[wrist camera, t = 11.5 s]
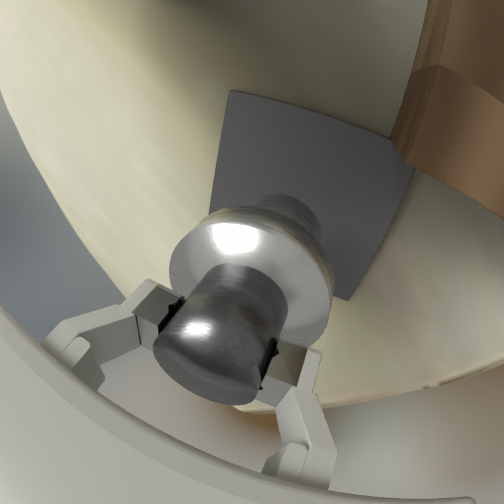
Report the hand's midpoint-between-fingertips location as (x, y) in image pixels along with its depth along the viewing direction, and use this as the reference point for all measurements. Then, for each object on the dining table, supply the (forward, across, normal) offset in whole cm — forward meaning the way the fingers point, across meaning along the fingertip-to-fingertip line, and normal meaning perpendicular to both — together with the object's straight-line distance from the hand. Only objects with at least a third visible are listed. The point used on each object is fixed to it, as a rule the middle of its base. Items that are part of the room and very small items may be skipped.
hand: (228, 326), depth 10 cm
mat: (+11, 0, 0) cm, 11 cm away
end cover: (+7, 0, 0) cm, 7 cm away
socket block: (+11, -11, -13) cm, 21 cm away
